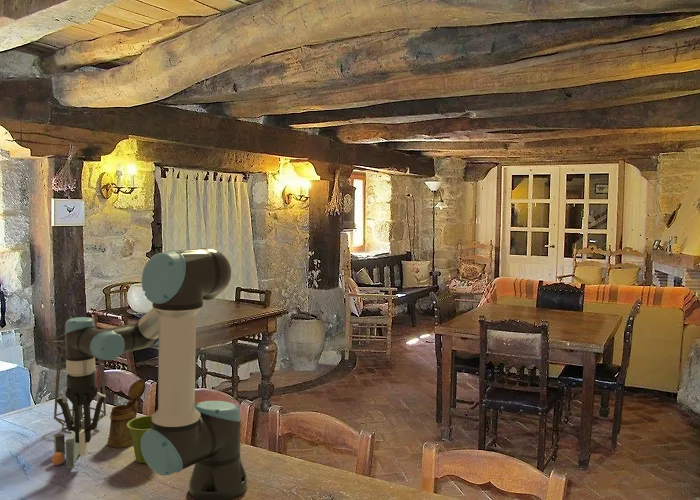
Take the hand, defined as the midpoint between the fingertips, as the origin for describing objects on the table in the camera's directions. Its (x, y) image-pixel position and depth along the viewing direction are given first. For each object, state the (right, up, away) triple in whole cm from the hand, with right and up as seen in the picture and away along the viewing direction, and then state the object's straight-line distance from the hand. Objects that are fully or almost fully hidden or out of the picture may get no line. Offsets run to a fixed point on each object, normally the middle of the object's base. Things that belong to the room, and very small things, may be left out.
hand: (83, 453), depth 175 cm
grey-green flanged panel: (-4, -3, +2) cm, 5 cm away
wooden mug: (+6, -2, +20) cm, 21 cm away
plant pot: (+17, -4, +6) cm, 18 cm away
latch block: (-11, -3, +8) cm, 14 cm away
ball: (-8, -4, +2) cm, 9 cm away
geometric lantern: (-13, -2, +28) cm, 31 cm away
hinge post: (-6, -3, +10) cm, 12 cm away
